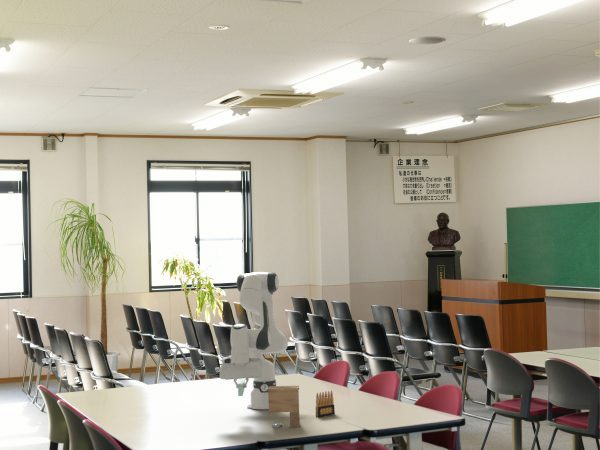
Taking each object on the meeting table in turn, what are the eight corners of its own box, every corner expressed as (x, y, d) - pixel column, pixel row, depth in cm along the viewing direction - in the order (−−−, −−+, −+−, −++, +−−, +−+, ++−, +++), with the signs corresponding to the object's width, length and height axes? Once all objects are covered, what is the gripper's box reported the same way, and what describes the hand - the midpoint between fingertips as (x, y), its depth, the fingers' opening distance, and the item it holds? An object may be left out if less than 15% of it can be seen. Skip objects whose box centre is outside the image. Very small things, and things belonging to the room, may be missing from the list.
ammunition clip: (317, 417, 436) (317, 392, 437) (315, 417, 438) (314, 392, 438) (335, 414, 443) (334, 390, 443) (332, 414, 444) (331, 389, 444)
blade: (240, 387, 437) (240, 379, 437) (244, 387, 437) (244, 379, 437) (238, 396, 415) (238, 387, 415) (242, 395, 415) (242, 387, 415)
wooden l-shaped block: (269, 425, 422) (267, 386, 422) (300, 423, 422) (298, 385, 423) (268, 428, 414) (267, 389, 415) (300, 426, 415) (299, 387, 415)
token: (271, 426, 421) (271, 423, 421) (282, 425, 421) (282, 423, 421) (271, 428, 416) (271, 425, 416) (282, 427, 416) (282, 425, 416)
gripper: (262, 356, 430) (263, 385, 430) (219, 358, 429) (220, 387, 429) (262, 358, 423) (263, 388, 423) (218, 360, 423) (219, 389, 423)
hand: (241, 387), depth 426 cm, fingers closed on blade, 2 cm apart
